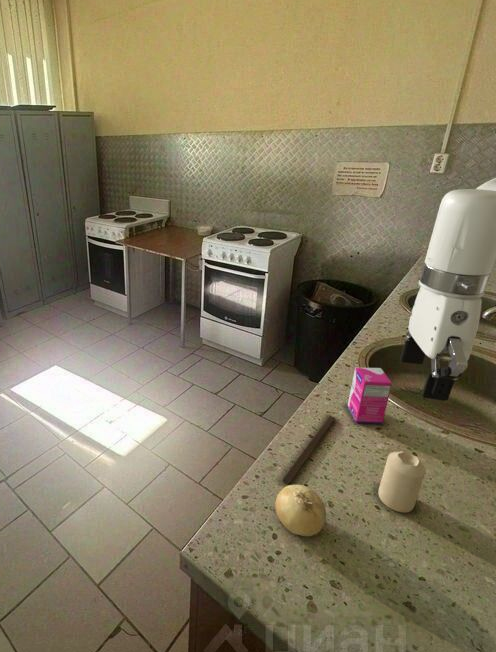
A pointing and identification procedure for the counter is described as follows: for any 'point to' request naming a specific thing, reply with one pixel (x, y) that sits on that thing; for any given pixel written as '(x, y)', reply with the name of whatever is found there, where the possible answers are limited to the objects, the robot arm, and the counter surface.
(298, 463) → the dark brown thin rod
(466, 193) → the robot arm
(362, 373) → the supplement box
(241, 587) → the counter surface
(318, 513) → the onion
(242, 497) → the counter surface
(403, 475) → the candle
